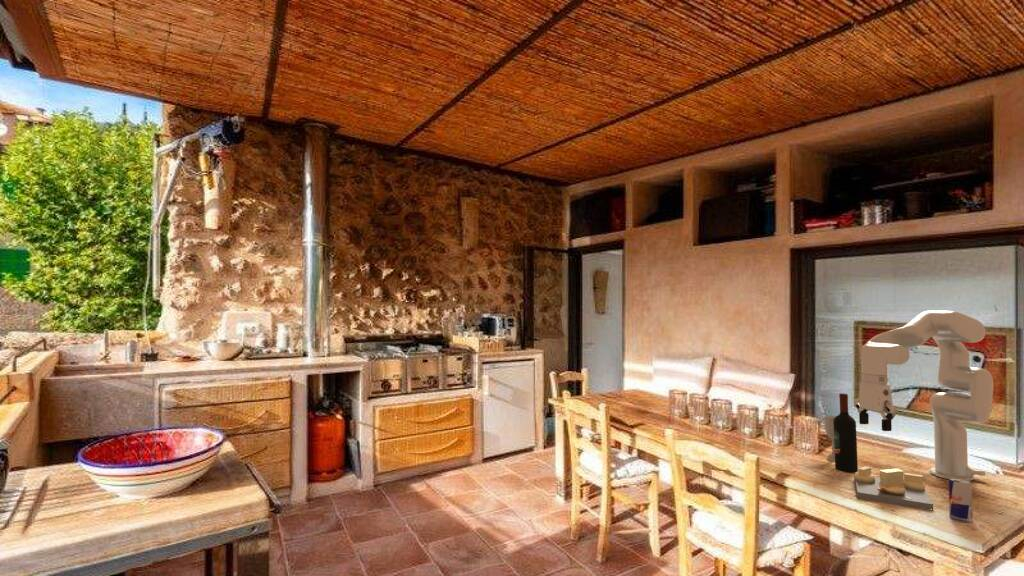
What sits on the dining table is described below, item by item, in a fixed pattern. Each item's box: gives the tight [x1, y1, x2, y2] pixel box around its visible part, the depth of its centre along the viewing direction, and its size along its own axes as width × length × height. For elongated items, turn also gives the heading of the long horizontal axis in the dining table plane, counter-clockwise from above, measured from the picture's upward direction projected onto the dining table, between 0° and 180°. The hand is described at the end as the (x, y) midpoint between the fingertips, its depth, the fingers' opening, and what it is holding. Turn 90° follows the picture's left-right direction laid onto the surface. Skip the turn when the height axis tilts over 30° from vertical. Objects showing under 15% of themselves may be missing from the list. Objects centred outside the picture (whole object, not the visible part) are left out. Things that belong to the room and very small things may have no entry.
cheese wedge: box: [878, 468, 905, 495], centre depth 171 cm, size 9×7×7 cm
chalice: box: [822, 415, 837, 463], centre depth 212 cm, size 7×7×18 cm
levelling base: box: [853, 466, 934, 511], centre depth 174 cm, size 20×20×6 cm
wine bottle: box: [833, 393, 859, 474], centre depth 200 cm, size 8×8×30 cm
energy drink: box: [947, 477, 974, 524], centre depth 154 cm, size 5×5×12 cm
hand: (875, 427), depth 178 cm, fingers open, 9 cm apart
